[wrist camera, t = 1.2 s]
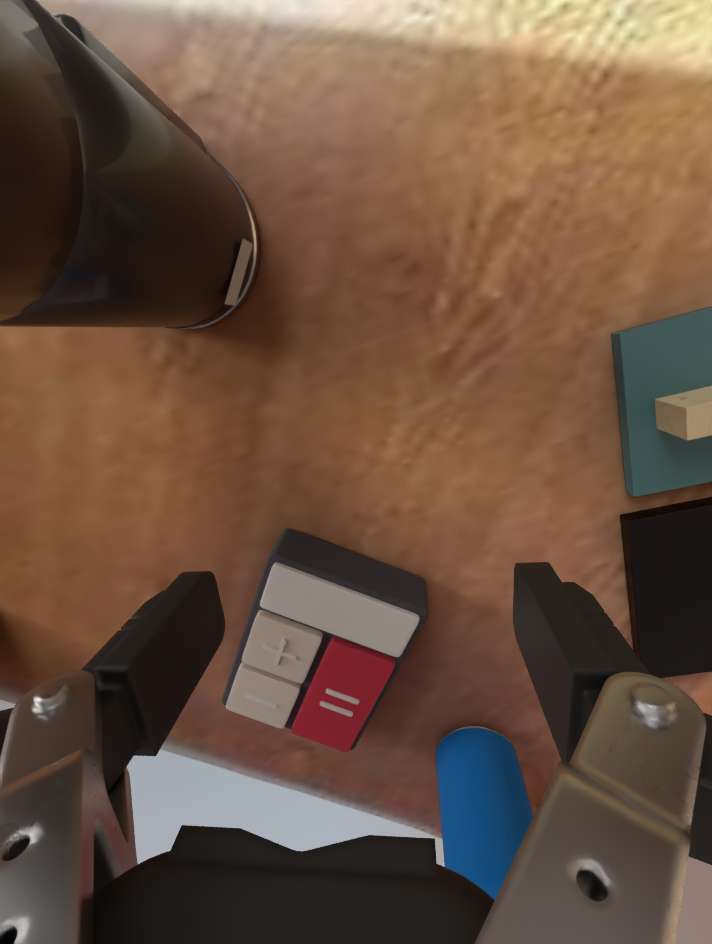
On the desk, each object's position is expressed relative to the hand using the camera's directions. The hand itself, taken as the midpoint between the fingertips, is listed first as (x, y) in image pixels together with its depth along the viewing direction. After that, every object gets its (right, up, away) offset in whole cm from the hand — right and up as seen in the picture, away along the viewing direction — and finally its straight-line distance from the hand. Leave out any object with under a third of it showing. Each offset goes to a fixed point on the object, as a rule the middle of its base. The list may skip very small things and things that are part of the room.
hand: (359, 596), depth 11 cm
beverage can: (+10, -20, +24) cm, 33 cm away
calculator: (-3, -9, +22) cm, 24 cm away
